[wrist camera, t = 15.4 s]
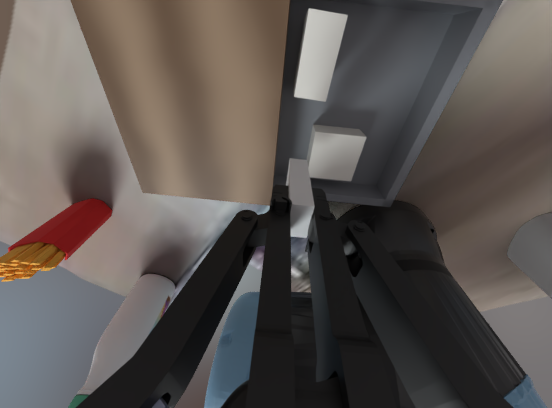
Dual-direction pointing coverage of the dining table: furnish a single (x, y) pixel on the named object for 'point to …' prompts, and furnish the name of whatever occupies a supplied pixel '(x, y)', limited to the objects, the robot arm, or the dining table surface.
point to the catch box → (381, 86)
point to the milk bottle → (127, 330)
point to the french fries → (54, 240)
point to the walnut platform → (193, 90)
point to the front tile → (318, 53)
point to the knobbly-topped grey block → (534, 251)
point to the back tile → (334, 152)
